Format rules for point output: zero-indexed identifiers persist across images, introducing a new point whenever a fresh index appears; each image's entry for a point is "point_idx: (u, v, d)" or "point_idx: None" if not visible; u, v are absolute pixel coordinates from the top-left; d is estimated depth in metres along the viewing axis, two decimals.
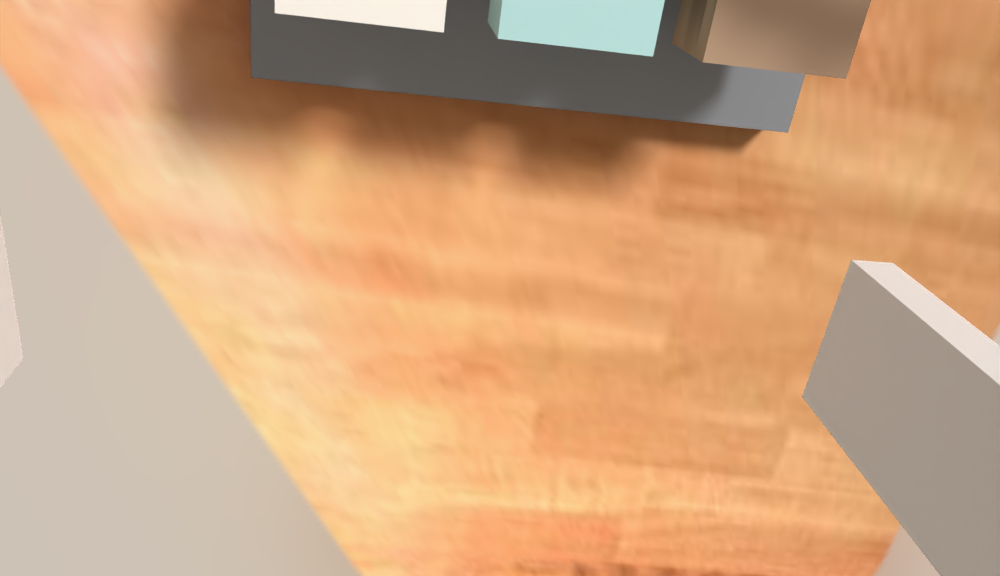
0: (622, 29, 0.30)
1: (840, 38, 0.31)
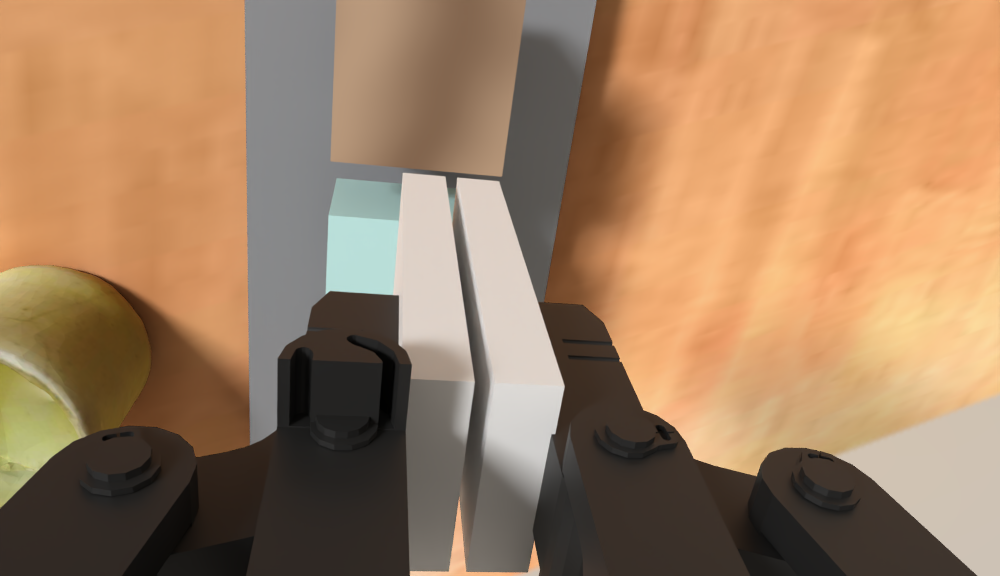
0: None
1: (478, 18, 0.26)
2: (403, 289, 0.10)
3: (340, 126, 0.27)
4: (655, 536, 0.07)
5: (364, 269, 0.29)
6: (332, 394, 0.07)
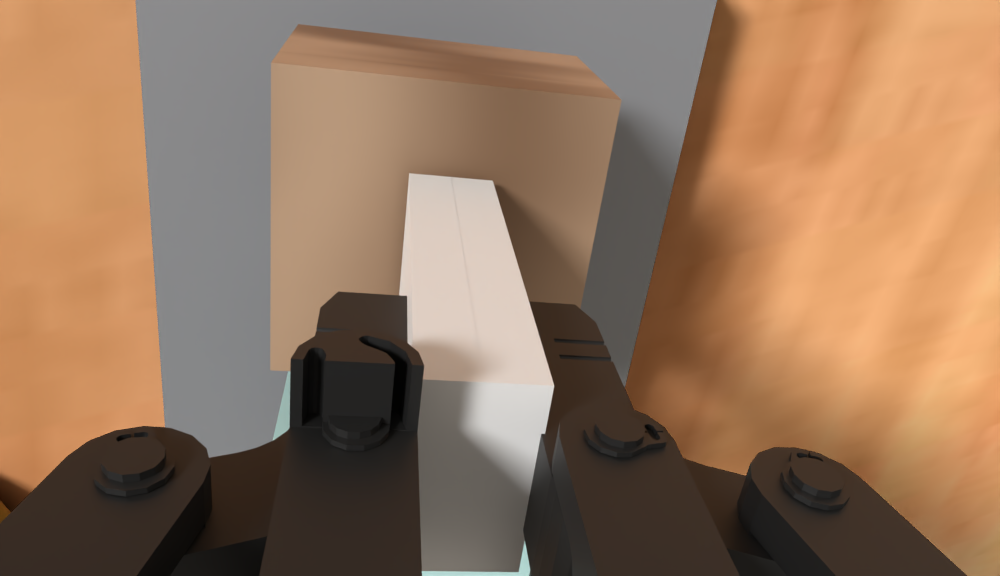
0: None
1: (533, 132, 0.14)
2: (412, 289, 0.10)
3: (285, 316, 0.15)
4: (644, 536, 0.07)
5: None
6: (344, 394, 0.07)
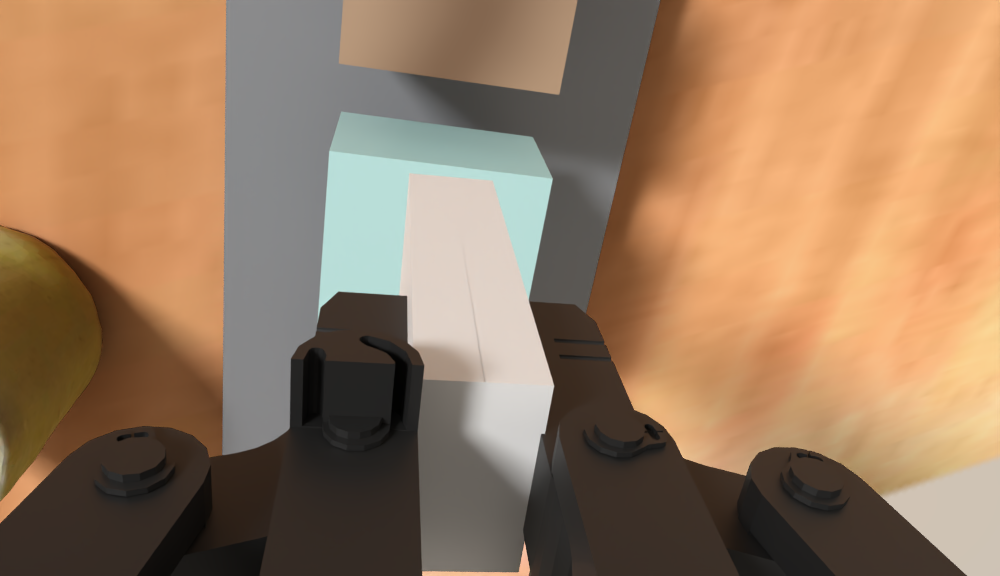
0: (513, 221, 0.22)
1: None
2: (412, 289, 0.10)
3: (353, 16, 0.20)
4: (644, 536, 0.07)
5: (375, 227, 0.22)
6: (345, 394, 0.07)
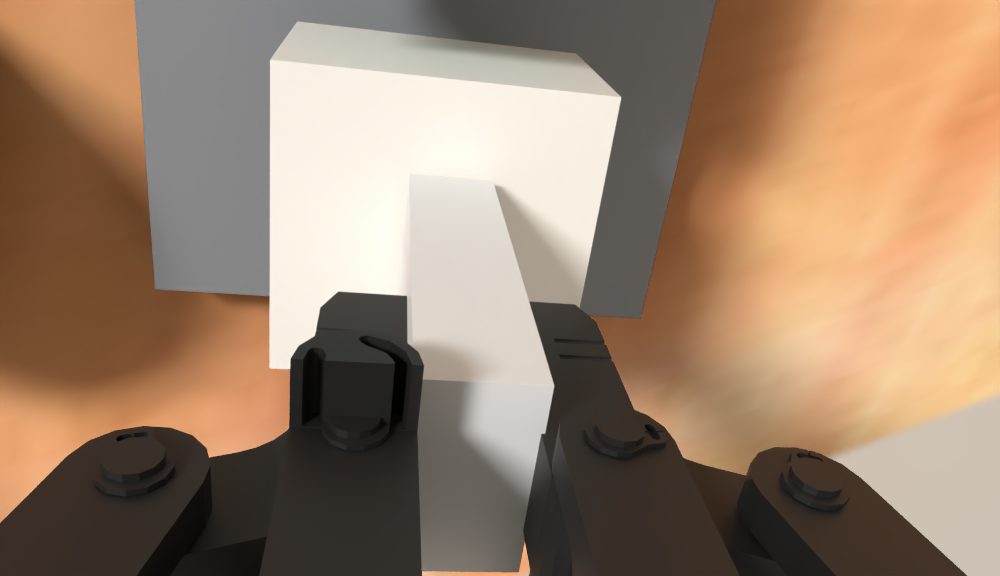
0: None
1: None
2: (412, 289, 0.10)
3: None
4: (644, 536, 0.07)
5: None
6: (344, 394, 0.07)
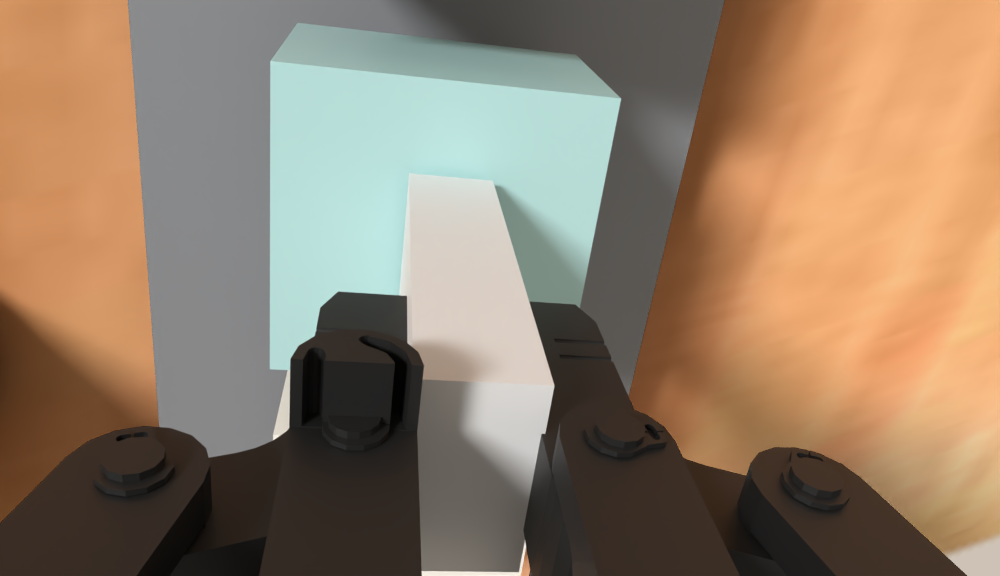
0: (561, 169, 0.14)
1: None
2: (412, 290, 0.10)
3: None
4: (644, 536, 0.07)
5: (350, 184, 0.14)
6: (345, 394, 0.07)
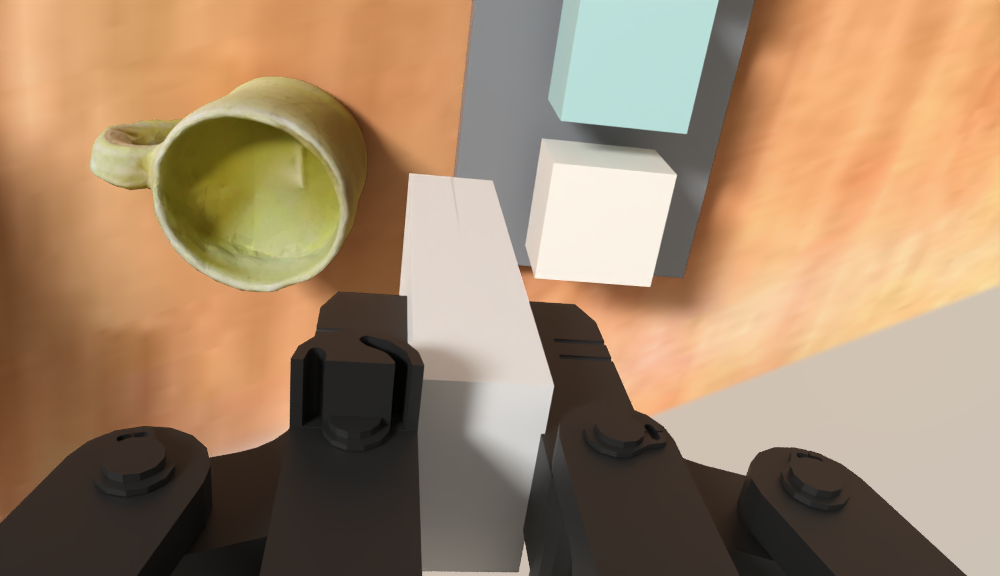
0: (692, 29, 0.35)
1: None
2: (412, 289, 0.10)
3: None
4: (644, 536, 0.07)
5: (606, 34, 0.34)
6: (345, 394, 0.07)
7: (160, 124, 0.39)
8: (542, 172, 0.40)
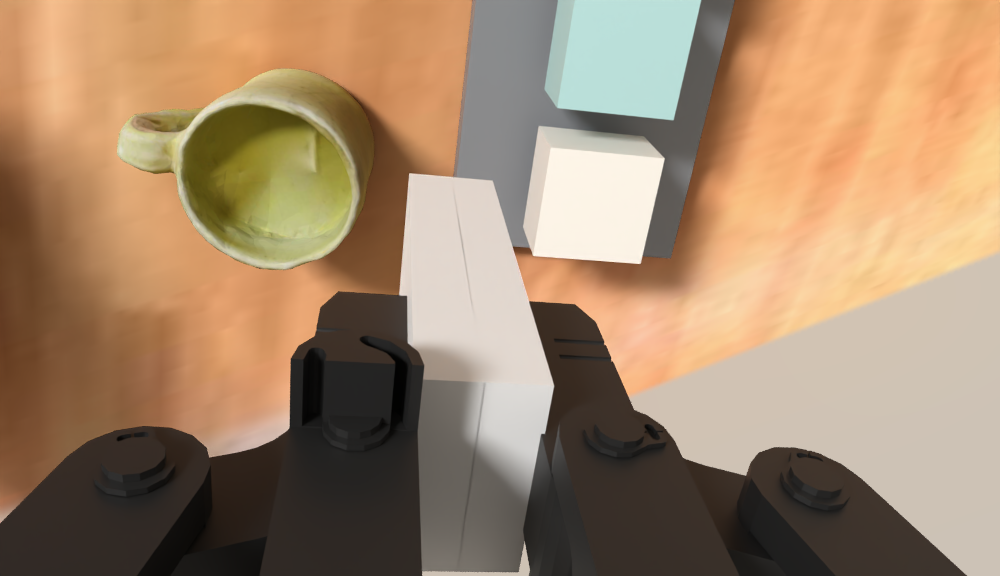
0: (678, 23, 0.38)
1: None
2: (412, 289, 0.10)
3: None
4: (644, 536, 0.07)
5: (599, 27, 0.37)
6: (345, 394, 0.07)
7: (181, 113, 0.41)
8: (539, 157, 0.42)
